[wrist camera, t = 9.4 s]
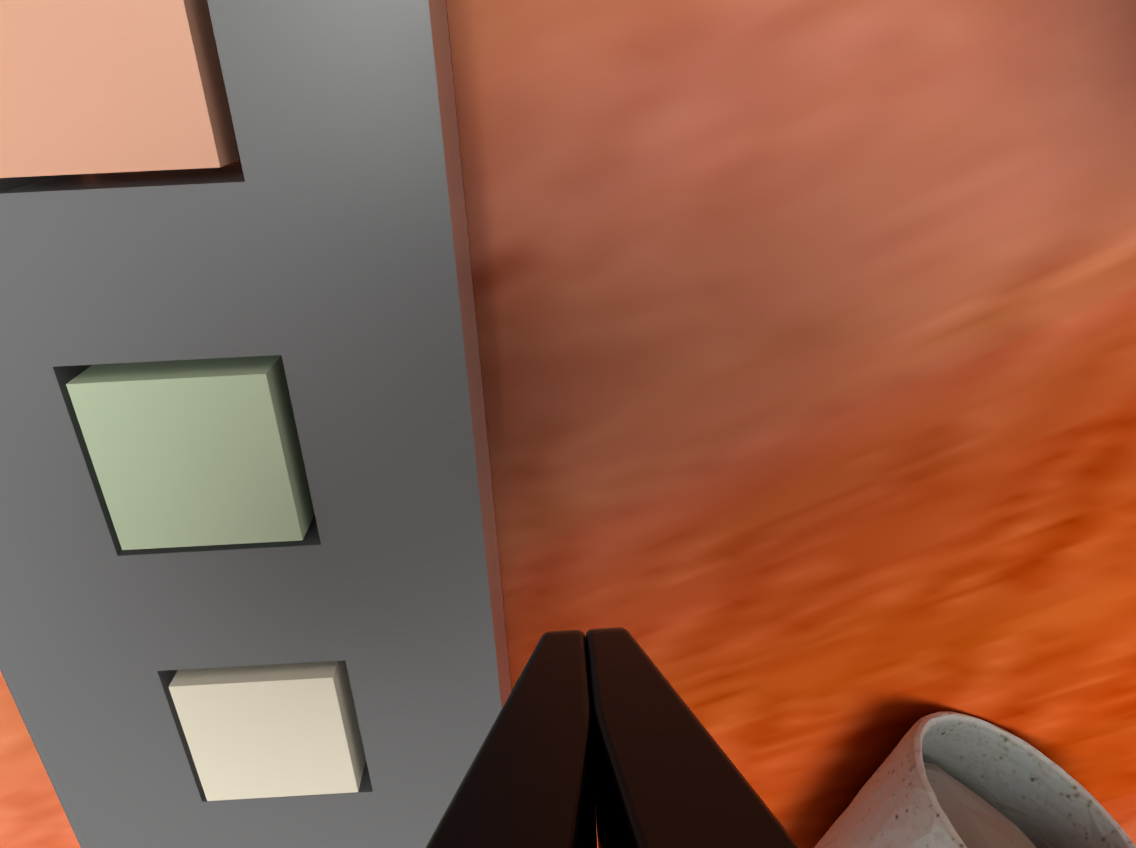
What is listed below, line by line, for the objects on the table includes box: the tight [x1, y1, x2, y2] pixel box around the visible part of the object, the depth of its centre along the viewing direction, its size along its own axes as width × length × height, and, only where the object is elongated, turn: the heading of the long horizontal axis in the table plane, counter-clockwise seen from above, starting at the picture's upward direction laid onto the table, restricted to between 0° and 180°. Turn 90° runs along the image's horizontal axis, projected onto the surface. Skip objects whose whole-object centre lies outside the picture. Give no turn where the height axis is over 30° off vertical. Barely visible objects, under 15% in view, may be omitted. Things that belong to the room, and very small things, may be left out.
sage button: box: [66, 355, 315, 550], centre depth 18 cm, size 4×4×2 cm
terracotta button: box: [0, 0, 240, 178], centre depth 15 cm, size 4×4×2 cm
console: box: [0, 0, 512, 848], centre depth 19 cm, size 12×26×3 cm, turn 3°
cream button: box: [169, 660, 366, 801], centre depth 22 cm, size 4×4×2 cm
